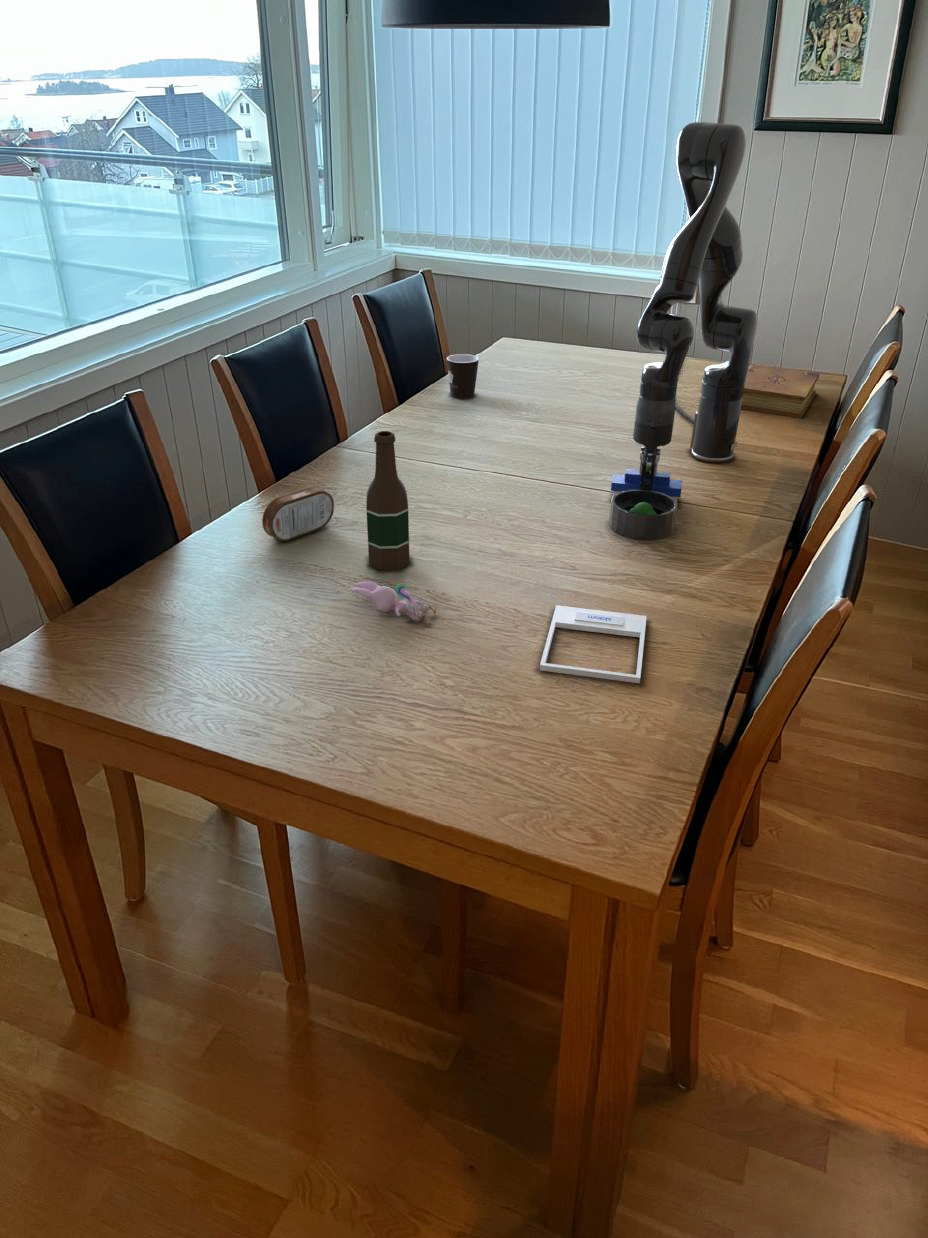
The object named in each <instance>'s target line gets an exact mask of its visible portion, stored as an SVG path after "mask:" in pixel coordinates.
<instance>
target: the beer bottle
mask: <svg viewBox="0 0 928 1238" xmlns="http://www.w3.org/2000/svg"><path fill="white" fill-rule="evenodd" d="M373 441H374V443H375V471H374V477H373V478H372V480H371V482H370V483H369V485H368V488H367V491H366V510H365V511H366V527H367V547H368V549H367V550H368V561H369V565H370V567H372V568H374V569H376V570H380V571H382V572H383V571H385V572H386V571H398V570H399V571H400V570H401V569H403V568H404V567H407V566H409V564H410V524H409V519H410V518H409V501H408V492H407V489H406V486H405V484H404V483H403V482H402V480H401V479H400V477H399V475H398V471H397V462H396V453H395V452H396V451H395V442H396V441H397V440H396V434H395V432H391V431H389V430H382V431H378V432H375V433H374V438H373Z"/></svg>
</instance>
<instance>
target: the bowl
mask: <svg viewBox="0 0 928 1238" xmlns="http://www.w3.org/2000/svg"><path fill="white" fill-rule="evenodd" d="M642 502H645V503H648V504H650V505H651V506H652V508H653V510H654V511H655V512H656V513H657V514H656V515H645V514H637V513H632V512H628V511H629V510H630V509H631V508H634V507H635V506H636V505H637V504H639V503H642ZM677 512H678V501H677V502H676V501H675V500H674V499H673V498H671V497H670V496H668V495H666V494H663V493H660V492H656V491H651V490H627V491H622V492H620V493H617V494H615V495H614V496H613V495H612V498H611V501H610V509H609V519H608V526H609V528H610V529H611V530H612V531H613V532H614V533H615V534H618V535H620V536H622V537H625V538H628V539H632V540H640V541H655V540H661V539H662V540H663V539H665V538H667V537H669V536H671V535H672V534H673V533H674V532H675V526H676V519H677Z"/></svg>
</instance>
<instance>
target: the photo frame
mask: <svg viewBox="0 0 928 1238" xmlns="http://www.w3.org/2000/svg"><path fill="white" fill-rule="evenodd" d="M646 627H647V615H642V614H633V613H625V612H617V611H608V610H599V609H591V608H582V607H575V606H565V605H558V604H555V608H554V612H553V615H552V619H551V623H550V626H549V630H548V634H547V637H546V642H545V645H544V649H543V652H542V655H541V660H540V663H539V671H542V672H552V673H558V674H566V675H572V676H580V677H581V676H582V677H588V678H595V679H596V678H597V679H604V680H612V681H619V682H627V683H634V684H640V683H641V677H642V666H643V655H644V647H645V635H646ZM556 628H560V629H567V630H568V629H569V630H575V631H583V632H584V631H585V632H593V633H599V634H601V633H602V634H608V635H616V636H625V637H633V638H639V644H638V652H637V653H638V654H637V663H636V672H635V674H631V673H625V672H618V671H610V670H609V671H608V670H602V669H594V668H588V667H587V668H585V667H579V666H572V665H563V664H555V663H549V662H547V661H548V657H549V654H550V650H551V646H552V641H553V638H554V634H555V630H556Z"/></svg>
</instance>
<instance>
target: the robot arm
mask: <svg viewBox="0 0 928 1238" xmlns="http://www.w3.org/2000/svg"><path fill="white" fill-rule="evenodd" d="M746 140H747V139H746V134H745V130H744V129H743V127H742V126H740V125H738V124H734V123H719V122H706V121H694V122H689V123H687V124H686V125H685V126H684V127H683V128H682V129H681V131H680V133H679V135H678V138H677V144H676V152H675V153H676V167H677V173H678V176H679V177H678V178H679V181H680V185H681V188H682V193H683V196H684V201H685V204H686V208H687V209H686V210H687V214H688V219H689V220H688V221H687V222H686V223H685V225H684V226H683V227H682V228H681V229H680V231H679V232H678V233H677V234H676V235H675V237H673V239H672V241H671V243H670V245H669V246H668V249H667V251H666V255H665V257H664V260H663V265H662V268H661V272H660V276H659V280H658V284H657V286H656V288H655V290H654V293H653V294H652V296H651V298H650V300H649V302H648V304H647V306H646V307H645V309H644V311H643V313H642V314H641V316H640V319H639V321H638V323H637V327H636V342H637V343H638V345H639V346H640V347H641V348H642V349H644V350H648V351H653V352H657V353H662V354H665V357H664V359H663V361H662V362H650V363H647V364H645V365H644V366H643V367H642V370H641V375H640V382H639V383H640V384H639V392H638V393H639V394H638V398H637V403H636V406H635V407H636V409H635V415H634V424H633V435H632V439H633V441H634V442H635V443H637V444H638V445H643V446H642V447H640V453H639V461H640V463H639V470H640V471H639V473H640V475H641V482H640V487H641V488H640V490H652V486H653V484H654V483H653V478H654V476H656V474H657V472H658V467H659V462H660V459H661V451H662V449H661V448H659V447H665V446H668V445H670V444H671V442H672V439H673V436H672V435H673V430H674V423H675V414H676V410H677V412H678V413H680V414H681V415H682V417H684V418H685V419H686V420H688V421H689V422H691V423H692V424H693V425H692V433H691V439H690V448H689V451H690V452H691V453H690V455H691V456H692V457H693V458H694V459H696V460H699V461H702V462H708V463H716V464H717V463H719V464H720V463H727V462H730V461H732V460H733V458H734V454H735V453H734V451H735V449H736V448H737V446H738V440H737V441H736V439H737V433H738V428H739V422H740V417H741V412H742V411H741V410H742V409H741V405H742V399H743V393H744V387H745V381H746V376H747V372H748V369H749V368H750V363H751V358H752V353H753V348H754V345H755V340H756V337H757V330H758V323H759V322H758V321H759V318H758V314H757V312H756V311H755V310H753V309H750V308H744V307H739V306H731V305H725V304H724V303H723V299H722V298H723V296H722V295H723V293H724V291H725V290H726V289H727V287H728V285H729V284H730V283H731V281H732V280H733V279H734V278H735V276H736V275H737V273H738V272H739V270H740V268H741V265H742V263H743V257H744V256H743V255H744V253H743V241H742V232H741V228H740V226H739V223H738V221H737V219H736V217H735V216H734V214H733V213H732V212H731V211H730V210H729V208H728V207H727V203H728V201H729V198H730V196H731V193H732V191H733V189H734V186H735V184H736V181H737V179H738V176H739V173H740V171H741V168H742V165H743V161H744V158H745V153H746V146H747V144H746V143H747V141H746ZM697 287H698V292H699V308H700V309H699V310H700V311H699V312H700V335H701V338H702V342H703V345H704V346H705V347H707V349H712V350H714V351H715V350H716V351H721V352H727V353H731V354H730V357H729V359H728V360H727V361H725V362H717V363H713V364H710V365H708V366H706V367H705V368H704V370H703V374H702V380H701V386H700V392H699V393H700V394H699V401H698V407H697V408H698V409H697V410H696V411H695V413H694V418H693V417H692V416H691V415H689V414H688V413H686V411H684V410H683V409H682V408H681V406H679V405H678V404H677V402H676V397H677V391H678V390H677V389H678V381H679V377H680V373H681V371H682V369H683V365H684V362H685V359H686V357H687V355H688V353H689V350H690V349H691V346H692V343H693V340H694V336H695V330H694V326H693V324H692V323H693V322H692V321H691V320H690V319H689V318H688V317H686V316H683V315H677V314H671V313H668V312H669V310H670V309H671V308H672V307H673V306H674V305H676V304H681V303H689V302H691V301H692V300H693V299H694V297H695V295H696V293H697V292H696V291H697ZM644 478H647V479H651V482H650V481H643V479H644Z"/></svg>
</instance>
